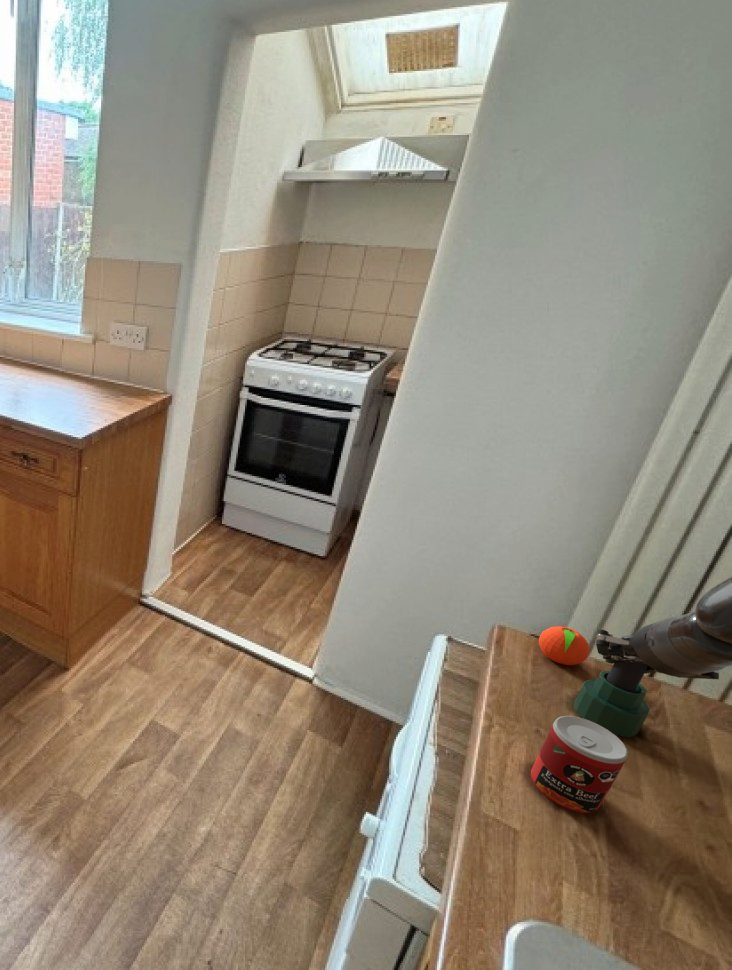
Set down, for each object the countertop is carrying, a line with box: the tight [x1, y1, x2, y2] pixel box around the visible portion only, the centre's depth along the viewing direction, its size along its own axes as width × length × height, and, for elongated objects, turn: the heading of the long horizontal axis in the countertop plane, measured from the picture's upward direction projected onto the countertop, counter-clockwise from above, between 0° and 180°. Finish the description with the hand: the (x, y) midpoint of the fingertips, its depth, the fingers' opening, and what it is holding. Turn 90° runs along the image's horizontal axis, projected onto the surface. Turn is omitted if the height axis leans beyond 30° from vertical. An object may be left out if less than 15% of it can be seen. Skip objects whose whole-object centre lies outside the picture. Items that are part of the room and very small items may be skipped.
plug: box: [606, 661, 648, 693], centre depth 97 cm, size 3×3×8 cm
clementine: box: [538, 626, 591, 666], centre depth 113 cm, size 8×7×7 cm
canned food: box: [530, 715, 629, 814], centre depth 87 cm, size 8×8×11 cm
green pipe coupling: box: [573, 670, 651, 738], centre depth 100 cm, size 8×8×8 cm
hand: (625, 661), depth 99 cm, fingers closed on plug, 3 cm apart
